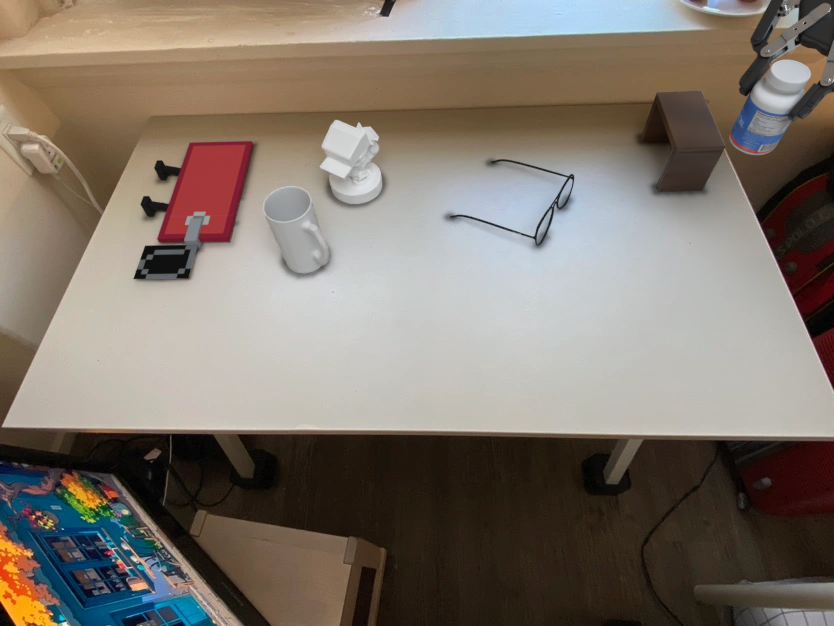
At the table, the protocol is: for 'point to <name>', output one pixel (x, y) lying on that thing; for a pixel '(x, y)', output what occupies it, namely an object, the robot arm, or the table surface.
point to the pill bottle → (769, 108)
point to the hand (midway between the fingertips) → (766, 105)
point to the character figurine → (352, 162)
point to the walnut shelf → (684, 139)
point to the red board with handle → (195, 206)
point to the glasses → (545, 212)
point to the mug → (296, 228)
